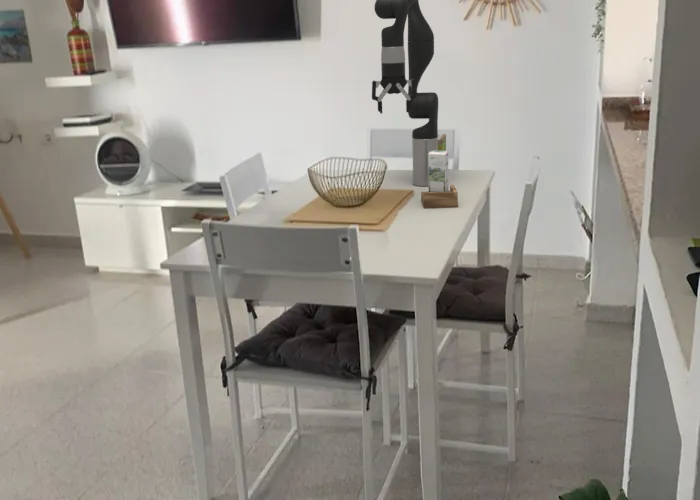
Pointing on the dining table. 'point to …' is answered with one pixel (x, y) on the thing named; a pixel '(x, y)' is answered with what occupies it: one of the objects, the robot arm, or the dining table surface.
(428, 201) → the walnut tray
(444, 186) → the syrup box
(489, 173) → the dining table surface
